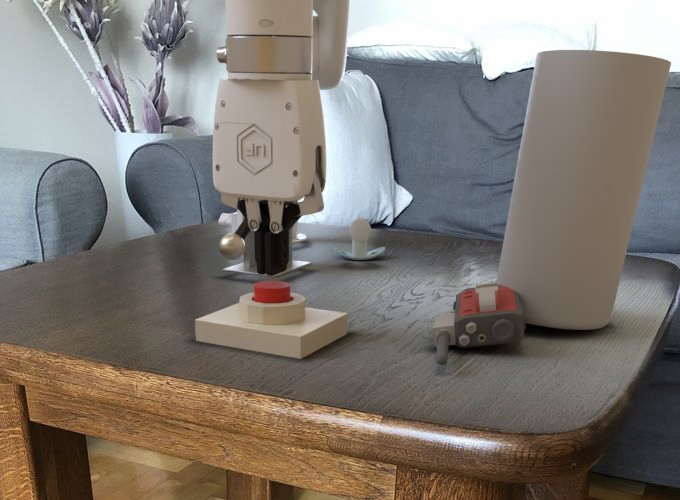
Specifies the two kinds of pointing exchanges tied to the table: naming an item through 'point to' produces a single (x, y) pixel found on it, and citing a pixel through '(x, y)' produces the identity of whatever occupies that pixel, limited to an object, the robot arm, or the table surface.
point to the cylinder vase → (579, 182)
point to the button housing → (272, 327)
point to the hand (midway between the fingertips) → (272, 271)
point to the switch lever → (234, 242)
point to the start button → (272, 292)
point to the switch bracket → (251, 266)
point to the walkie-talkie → (479, 320)
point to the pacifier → (360, 242)
